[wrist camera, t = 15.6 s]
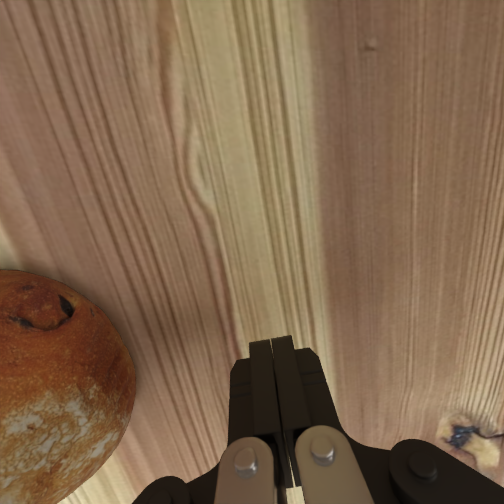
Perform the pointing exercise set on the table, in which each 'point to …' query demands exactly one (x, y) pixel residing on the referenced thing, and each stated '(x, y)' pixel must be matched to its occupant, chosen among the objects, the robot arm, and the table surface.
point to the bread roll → (57, 389)
